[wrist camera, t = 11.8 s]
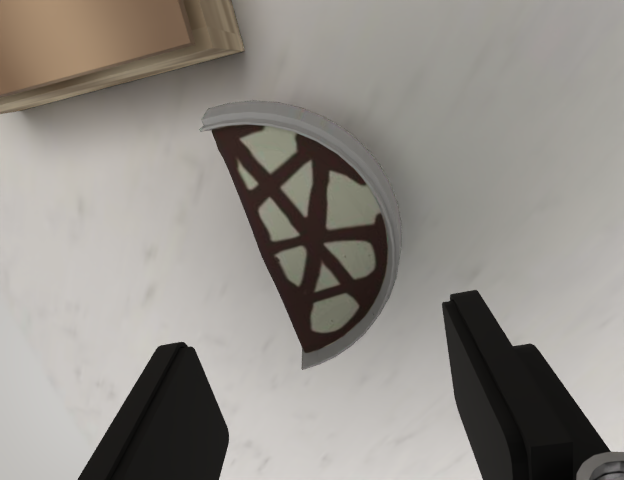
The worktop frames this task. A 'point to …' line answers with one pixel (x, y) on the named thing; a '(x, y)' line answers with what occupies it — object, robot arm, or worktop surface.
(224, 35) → the crate
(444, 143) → the worktop surface
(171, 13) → the lid
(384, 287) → the food container
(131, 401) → the robot arm
